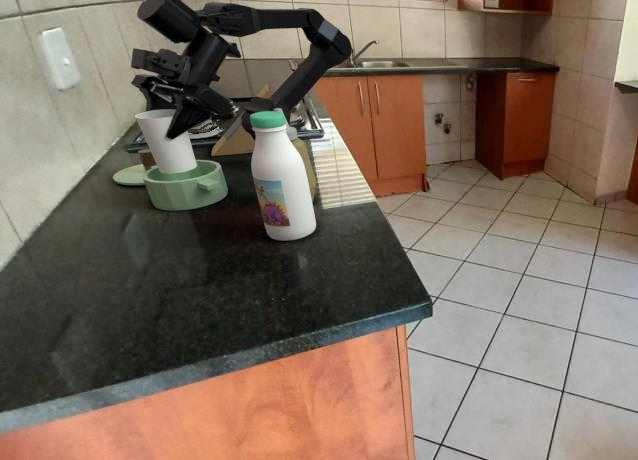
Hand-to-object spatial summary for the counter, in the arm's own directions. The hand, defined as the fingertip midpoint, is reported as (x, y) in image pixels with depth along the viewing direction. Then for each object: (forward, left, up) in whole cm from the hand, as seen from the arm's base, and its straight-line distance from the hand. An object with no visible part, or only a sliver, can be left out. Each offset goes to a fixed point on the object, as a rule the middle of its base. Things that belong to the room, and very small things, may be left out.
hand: (157, 135), depth 75 cm
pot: (-1, -2, -13) cm, 13 cm away
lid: (+11, -14, -12) cm, 21 cm away
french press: (+15, -47, -13) cm, 51 cm away
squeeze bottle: (-21, +2, -13) cm, 25 cm away
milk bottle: (-23, +14, -13) cm, 30 cm away
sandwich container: (-1, -33, -13) cm, 35 cm away
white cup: (-1, -1, -7) cm, 7 cm away
